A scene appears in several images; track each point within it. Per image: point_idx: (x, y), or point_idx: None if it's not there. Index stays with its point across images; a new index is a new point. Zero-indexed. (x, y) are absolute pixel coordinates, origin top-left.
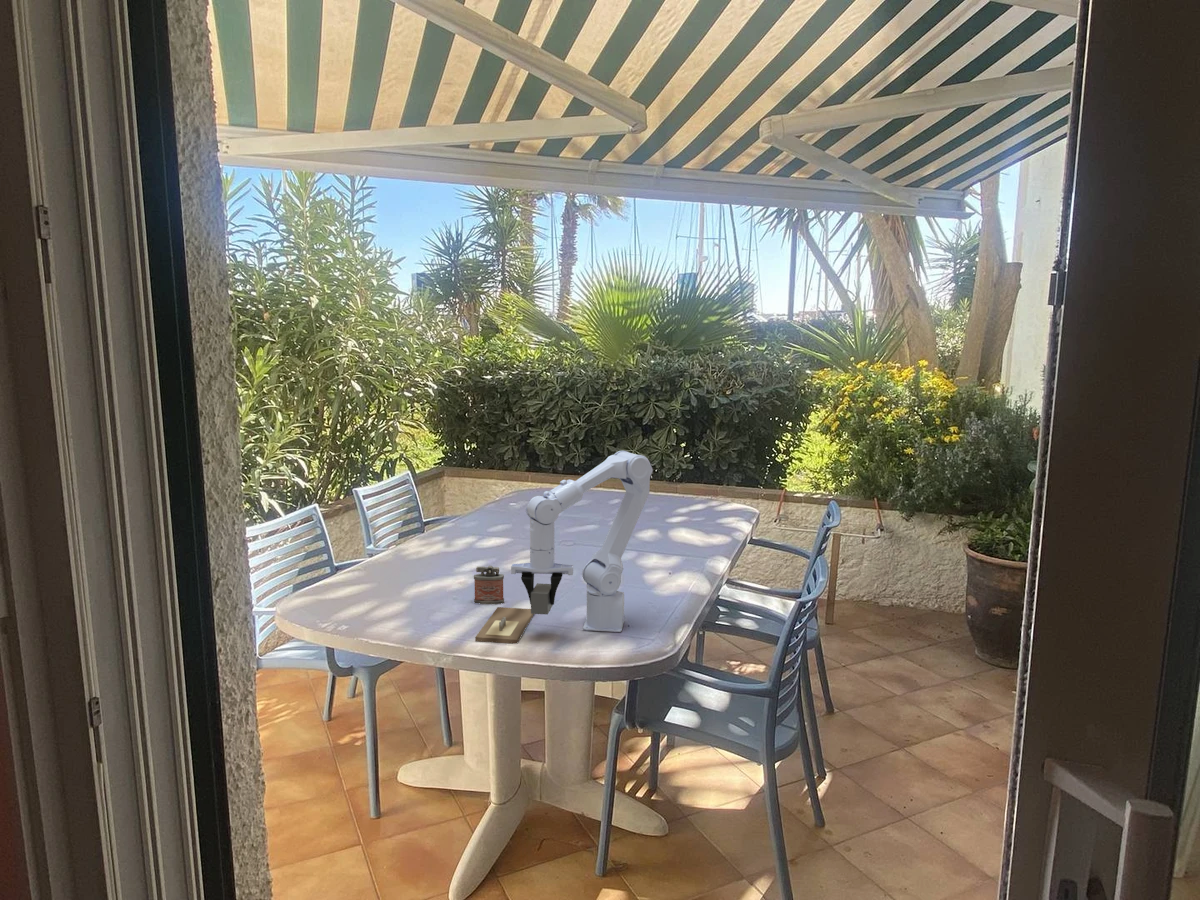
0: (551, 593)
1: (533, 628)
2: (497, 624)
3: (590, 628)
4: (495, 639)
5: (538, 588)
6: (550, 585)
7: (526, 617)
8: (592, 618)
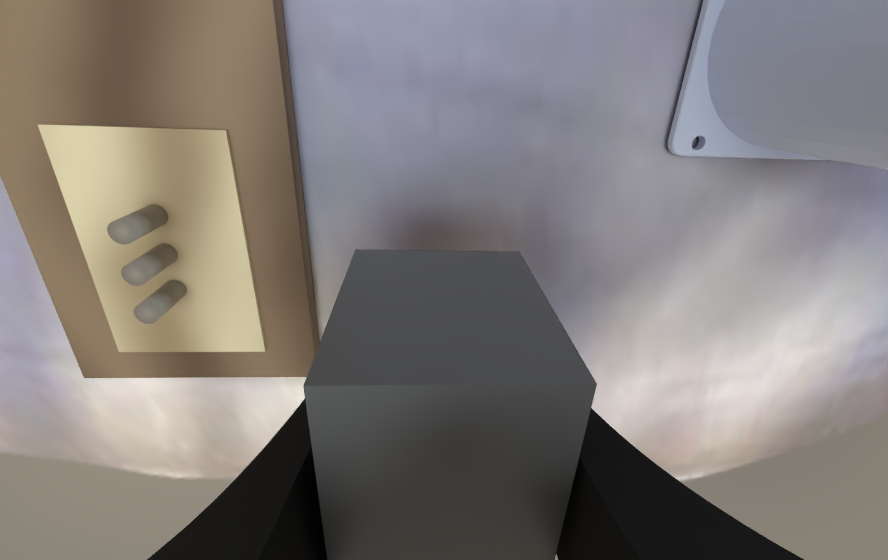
0: (562, 555)
1: (347, 151)
2: (101, 202)
3: (719, 151)
4: (202, 373)
5: (391, 551)
6: (550, 440)
7: (243, 10)
8: (783, 143)
